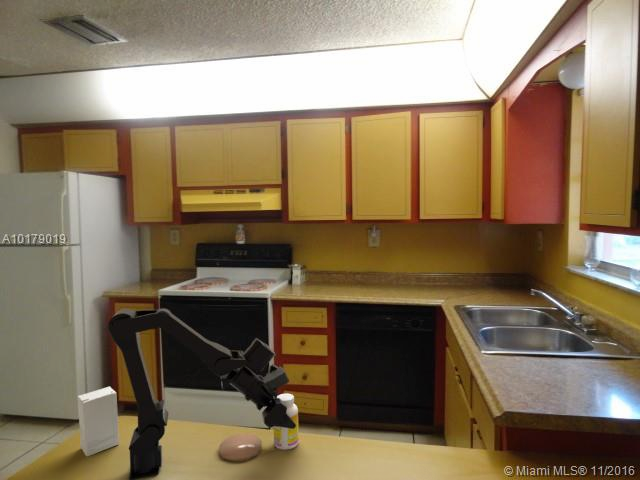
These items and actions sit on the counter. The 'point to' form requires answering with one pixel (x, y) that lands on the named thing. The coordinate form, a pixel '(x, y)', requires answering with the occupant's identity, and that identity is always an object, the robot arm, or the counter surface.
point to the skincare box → (98, 420)
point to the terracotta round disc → (240, 447)
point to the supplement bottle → (287, 436)
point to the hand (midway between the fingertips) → (290, 419)
